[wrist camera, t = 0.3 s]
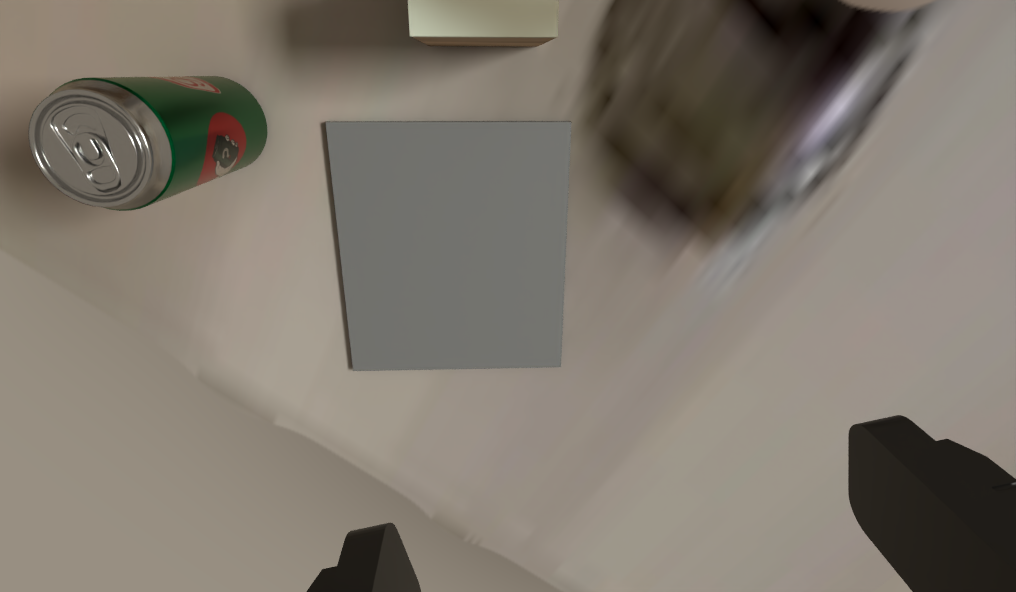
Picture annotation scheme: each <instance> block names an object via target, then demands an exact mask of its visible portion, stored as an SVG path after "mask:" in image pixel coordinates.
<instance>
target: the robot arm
mask: <svg viewBox="0 0 1016 592" xmlns="http://www.w3.org/2000/svg"><path fill="white" fill-rule="evenodd" d="M849 500H850V504H851V507H852V510H853V513H854V515H855V517H856V519H857V521H858V523H859V525H860V526H861V528H862V530H863V531H864V532H865V534H866V535H867V536H868V537H869V539H870V540H871V541H872V542H873V544H874V545H875V546H876V547H877V548H878V550H879V551H880V552H881V553H882V555H883V556H884V557H885V558H886V559H887V561H888V562H889V563H890V564H891V566H892V567H893V568H894V569H895V571H896V572H897V573H898V574H899V575H900V577H901V578H902V579H903V580H904V582H905V583H906V584H907V585H908V586H909V588H910V589H911V590H912V591H913V592H1016V479H1015V478H1013V477H1012V476H1011V475H1010V474H1008V473H1007V472H1006V471H1005V470H1003V469H1002V468H1001V467H999V466H998V465H997V464H996V463H994V462H993V461H992V460H990V459H989V458H988V457H986V456H984V455H982V454H980V453H978V452H975V451H973V450H971V449H969V448H967V447H964V446H962V445H960V444H958V443H956V442H953V441H951V440H949V439H944V440H939V441H935V440H934V439H933V438H931V437H930V436H929V435H928V434H927V433H925V432H924V431H923V430H922V429H921V428H919V427H918V426H917V425H916V424H915V423H913V422H912V421H911V420H909V419H908V418H906V417H904V416H901V415H897V416H892V417H888V418H883V419H878V420H874V421H869V422H864V423H860V424H855V425H853V426H852V427H851V428H850V430H849ZM307 592H421V589H420V585H419V582H418V579H417V577H416V575H415V572H414V570H413V567H412V565H411V562H410V560H409V557H408V555H407V553H406V550H405V548H404V545H403V543H402V540H401V538H400V535H399V533H398V531H397V529H396V527H395V525H394V524H393V523H387V524H381V525H377V526H372V527H367V528H363V529H358V530H354V531H350V532H349V533H348V534H347V536H346V538H345V541H344V545H343V548H342V551H341V555H340V558H339V562H338V565H337V566H336V567H331V568H326V569H322V571H321V572H320V573H319V575H318V576H317V578H316V579H315V580H314V582H313V583H312V585H311V586H310V588H309V589H308V590H307Z"/></svg>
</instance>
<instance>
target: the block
mask: <svg viewBox="0 0 1016 592" xmlns="http://www.w3.org/2000/svg"><path fill="white" fill-rule="evenodd" d="M558 8H559V0H408V13H409V31H410V37H412V38H414V39H416V40H418V41H420V42H422V43H425V44H427V45H429V46H539V45H542V44H544V43H546V42H548V41H550V40H552V39H554V38H557V37H558Z"/></svg>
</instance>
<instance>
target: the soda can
mask: <svg viewBox="0 0 1016 592" xmlns="http://www.w3.org/2000/svg"><path fill="white" fill-rule="evenodd" d="M266 139H267V124H266V119H265V116H264V113H263V111H262V108H261V106H260V105H259V103H258V102H257V100H256V99H255V98H254V96H253V95H252V94H251V93H250V92H249V91H248V90H247V89H245V88H244V87H243V86H241V85H240V84H238V83H236V82H234V81H232V80H230V79H227V78H224V77H218V76H185V77H114V78H81V79H76V80H72V81H70V82H67V83H65V84H63V85H61V86H60V87H58V88H57V89H56V90H55V91H54V92H52V93H51V94H50V95H49V97H47V98H45V99H44V100H43V101H42V102H41V103H40V104H39V105H38V106H37V108H36V109H35V111H34V112H33V115H32V117H31V120H30V124H29V143H30V148H31V152H32V155H33V157H34V159H35V161H36V164H37V166H38V167H39V169H40V170H41V172H42V173H43V175H44V176H45V177H46V178H47V179H48V181H49V182H50V183H51V184H53V185H54V186H55V187H56V188H57V189H58V190H59V191H61V192H62V193H64V194H65V195H67V196H68V197H70V198H72V199H74V200H76V201H78V202H81V203H83V204H87V205H91V206H97V207H103V208H106V209H111V210H119V211H127V210H135V209H140V208H143V207H146V206H148V205H151V204H153V203H156V202H158V201H161V200H163V199H166V198H168V197H171V196H173V195H176V194H178V193H181V192H183V191H186V190H188V189H191V188H193V187H196V186H198V185H201V184H203V183H206V182H208V181H211V180H213V179H216V178H218V177H221V176H223V175H226V174H228V173H231V172H233V171H236V170H238V169H241V168H243V167H246V166H248V165H249V164H251V163H252V162H254V161H255V160H256V159H257V158H258V157H259V155H260V154H261V152H262V151H263V149H264V146H265V143H266Z"/></svg>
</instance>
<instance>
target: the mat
mask: <svg viewBox="0 0 1016 592" xmlns="http://www.w3.org/2000/svg"><path fill="white" fill-rule="evenodd" d="M326 131H327V140H328V149H329V158H330V167H331V176H332V185H333V194H334V203H335V212H336V221H337V230H338V239H339V248H340V257H341V266H342V275H343V284H344V293H345V302H346V311H347V320H348V329H349V338H350V347H351V356H352V365H353V371H379V370H433V369H487V368H542V367H561V353H562V330H563V306H564V282H565V259H566V235H567V212H568V188H569V164H570V141H571V122H570V121H426V122H326Z"/></svg>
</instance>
